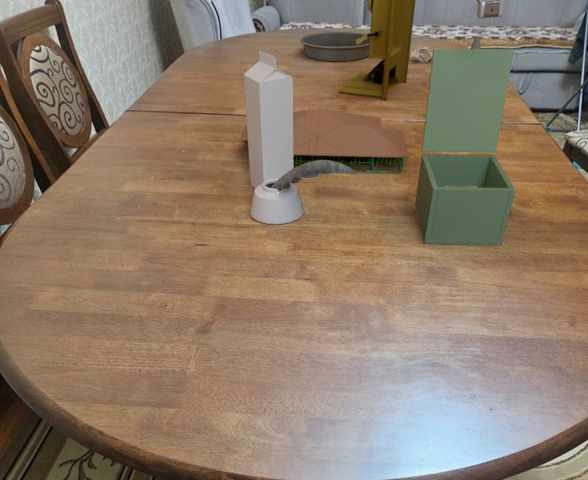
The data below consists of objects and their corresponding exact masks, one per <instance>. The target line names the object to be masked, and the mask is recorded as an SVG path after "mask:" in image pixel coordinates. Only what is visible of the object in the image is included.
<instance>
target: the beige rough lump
mask: <svg viewBox="0 0 588 480" xmlns="http://www.w3.org/2000/svg"><path fill="white" fill-rule="evenodd" d="M424 54H426V55H428V56H427V58H425V56H424ZM432 56H433V51H429V49H428V47H427V46H418V47H417V48H416V49H415V50H413V51H412V52H410V54H409V59H410V60H411V61H412V62H414V61H416V60H417V61H420V62H421V63H422V64H424V63H428V61H432Z"/></svg>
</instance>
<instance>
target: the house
mask: <svg viewBox="0 0 588 480" xmlns="http://www.w3.org/2000/svg"><path fill="white" fill-rule="evenodd" d="M238 141H243V143H248V134H247V124H246V125H245V126H244V128H243V130H242V133H241V135H240V137H239V139H238ZM297 156H299V158H300V160H297V159H298V158H297ZM302 156H313V157H314V156H316V161H317V160H319V157H321V159H320V160H323V157H337V162H338V163H341V164H344V160H342V161H340V160H339V159H340V157H354V159H355V160H354V161H351V164H352V163H354V164H356V162H357V161H356V160H357V158H368V159H369V158H370V159H369V161H362V162H361V160H359V161H358V165H360V164H363V167H362V169H364V168H365V167H364V166H365V164H366V163H367V164H371V169H368V168H369V166H367V169H366V172H367V173H368V172H373V173H387V168H385V170H384V171H382V167H383V165H381V168H380V171H379V170H374V164H375V162H376V167H378V166H379V165H378V164H379V162H382V160H384V158H386V160H385V163H388V161H389V160H388V159H390V161H389V165H391V164H394V165H393V168H395V167H396V166H395V165H396V162H397V159H399V160H398V165H399V166H398V168H397V169H398V170H399V168H400V173H402V172H403V167H404V159H409V158H410V157H409V152H408V146H407V141H406V135H405V130H402V129H395V128H388V127H383V126H382V117H379V116H371V115H365V114H359V113H352V112H345V111H339V110H333V109H321V108H320V109H319V108H312V109H311V108H310V109H304V110H297V111H296V110H295V111H293V158H295V163H296V164H295V168H296V167H298V165H297V162H299V163H300V164H299V166H300V165H302ZM318 156H319V157H318ZM376 158H378V159H376ZM380 158H382V159H380ZM393 159H394V162H393ZM345 165H346V166H348V164H345ZM388 173H391V170H389V171H388Z"/></svg>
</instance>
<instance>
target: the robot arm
mask: <svg viewBox="0 0 588 480" xmlns="http://www.w3.org/2000/svg"><path fill="white" fill-rule="evenodd" d="M505 1H506V0H491V1H490V0H489V1H487V0H476V3H477V10H476V11H477V12H476V13H477V14H476V17H477V19H491V18H501V17H503V14H504V6H505Z"/></svg>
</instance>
